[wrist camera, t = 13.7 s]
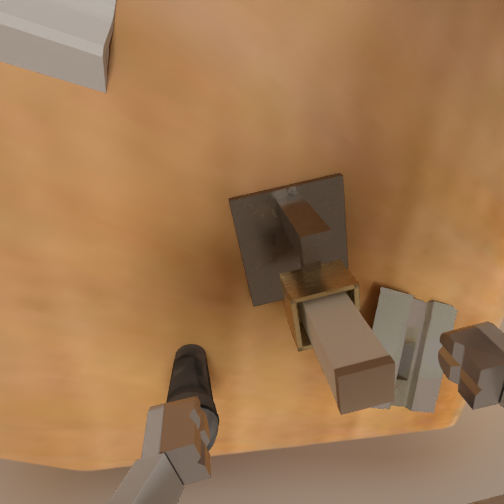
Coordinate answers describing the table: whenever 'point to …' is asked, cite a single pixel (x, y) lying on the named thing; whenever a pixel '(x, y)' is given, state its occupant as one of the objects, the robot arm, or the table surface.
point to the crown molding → (59, 38)
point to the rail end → (348, 352)
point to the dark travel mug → (194, 384)
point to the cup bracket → (295, 246)
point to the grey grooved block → (413, 346)
